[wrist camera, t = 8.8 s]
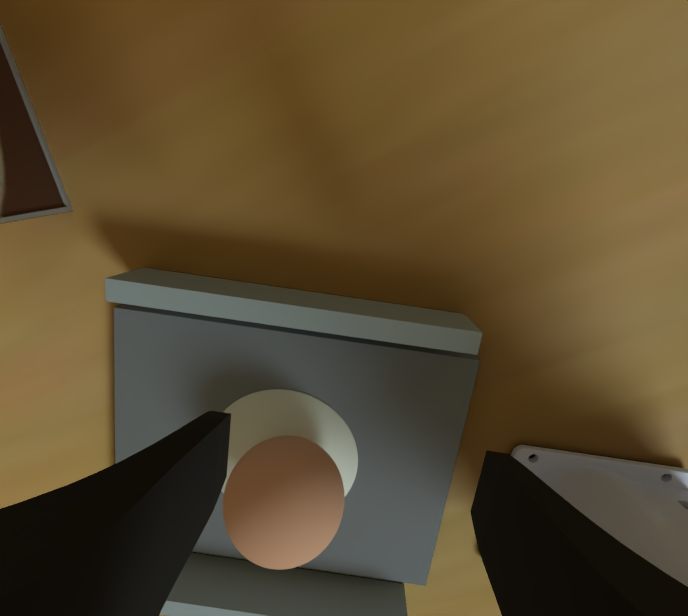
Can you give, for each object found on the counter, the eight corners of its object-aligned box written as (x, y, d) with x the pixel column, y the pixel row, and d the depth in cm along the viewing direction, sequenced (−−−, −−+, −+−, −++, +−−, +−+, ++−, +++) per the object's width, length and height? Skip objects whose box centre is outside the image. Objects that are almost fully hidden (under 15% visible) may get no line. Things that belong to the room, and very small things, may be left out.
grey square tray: (464, 313, 19) (482, 332, 17) (400, 596, 24) (406, 650, 21) (143, 267, 19) (104, 278, 17) (140, 558, 24) (110, 606, 21)
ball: (347, 424, 21) (375, 500, 16) (315, 509, 22) (332, 606, 17) (243, 403, 19) (238, 480, 14) (215, 496, 21) (200, 598, 15)
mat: (475, 354, 20) (480, 361, 19) (423, 573, 23) (425, 587, 23) (123, 303, 20) (112, 308, 19) (124, 529, 24) (115, 541, 23)
